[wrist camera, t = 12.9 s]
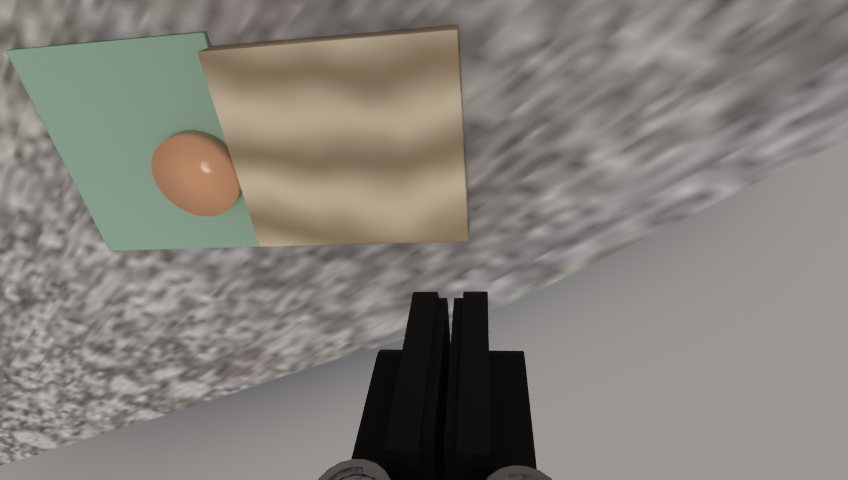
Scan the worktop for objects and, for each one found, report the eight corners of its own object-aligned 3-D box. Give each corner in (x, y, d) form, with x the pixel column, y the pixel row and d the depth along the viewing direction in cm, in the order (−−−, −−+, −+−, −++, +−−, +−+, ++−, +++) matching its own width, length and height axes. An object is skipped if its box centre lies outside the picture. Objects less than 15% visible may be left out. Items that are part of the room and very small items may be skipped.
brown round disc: (144, 152, 39) (133, 159, 38) (206, 116, 37) (196, 122, 36) (201, 218, 43) (192, 227, 41) (261, 189, 40) (254, 198, 39)
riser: (210, 46, 35) (196, 51, 33) (458, 25, 32) (457, 29, 31) (268, 234, 43) (259, 246, 41) (468, 228, 41) (468, 240, 39)
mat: (9, 49, 36) (5, 50, 36) (206, 31, 34) (203, 32, 34) (112, 248, 46) (109, 250, 45) (271, 243, 44) (269, 246, 43)
